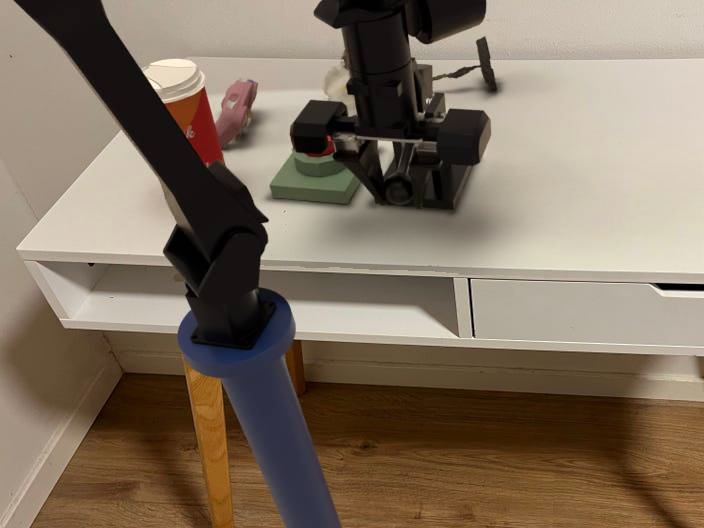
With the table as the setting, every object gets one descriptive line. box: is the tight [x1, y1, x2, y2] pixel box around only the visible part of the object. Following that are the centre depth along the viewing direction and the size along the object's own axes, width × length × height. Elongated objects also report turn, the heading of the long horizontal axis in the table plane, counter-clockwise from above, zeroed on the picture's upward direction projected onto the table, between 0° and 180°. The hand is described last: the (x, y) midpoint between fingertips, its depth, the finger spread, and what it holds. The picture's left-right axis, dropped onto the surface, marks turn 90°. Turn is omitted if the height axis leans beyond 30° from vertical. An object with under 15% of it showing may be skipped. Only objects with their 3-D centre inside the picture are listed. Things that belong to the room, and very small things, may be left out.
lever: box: [384, 99, 430, 206], centre depth 82 cm, size 12×3×3 cm, turn 167°
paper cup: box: [140, 58, 227, 168], centre depth 86 cm, size 8×8×14 cm
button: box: [306, 136, 335, 157], centre depth 89 cm, size 4×4×2 cm
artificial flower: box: [322, 35, 498, 117], centre depth 100 cm, size 9×22×10 cm, turn 96°
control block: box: [269, 147, 361, 205], centre depth 90 cm, size 11×9×4 cm
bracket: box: [373, 91, 473, 211], centre depth 86 cm, size 10×9×10 cm
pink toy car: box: [214, 76, 259, 148], centre depth 98 cm, size 10×5×7 cm, turn 179°
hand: (402, 204), depth 82 cm, fingers open, 4 cm apart
